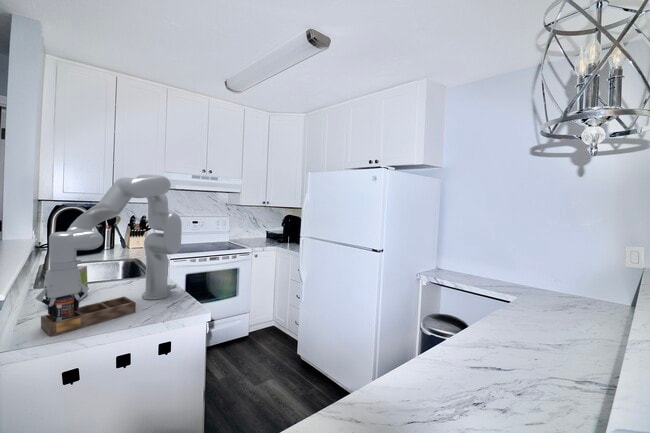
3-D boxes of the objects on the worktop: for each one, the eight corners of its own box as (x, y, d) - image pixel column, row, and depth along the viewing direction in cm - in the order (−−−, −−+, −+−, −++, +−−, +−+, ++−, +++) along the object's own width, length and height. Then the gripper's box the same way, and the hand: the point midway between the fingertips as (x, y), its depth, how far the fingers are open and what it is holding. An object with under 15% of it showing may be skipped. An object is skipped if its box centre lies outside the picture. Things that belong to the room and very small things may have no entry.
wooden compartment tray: (124, 306, 135) (124, 296, 134) (135, 312, 129) (136, 302, 129) (41, 328, 111) (40, 316, 111) (51, 337, 106) (51, 324, 105)
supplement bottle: (61, 326, 109) (61, 295, 108) (48, 323, 110) (48, 293, 109) (78, 319, 115) (78, 290, 114) (65, 316, 116) (65, 288, 115)
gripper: (87, 259, 120) (87, 303, 122) (28, 267, 106) (29, 317, 107) (95, 263, 116) (95, 308, 118) (35, 272, 102) (36, 323, 103)
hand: (63, 312), depth 112 cm, fingers closed on supplement bottle, 5 cm apart
